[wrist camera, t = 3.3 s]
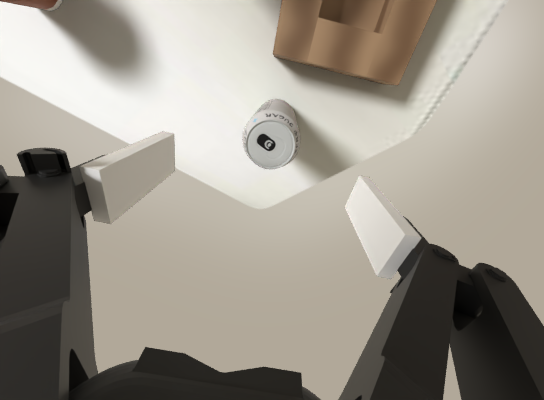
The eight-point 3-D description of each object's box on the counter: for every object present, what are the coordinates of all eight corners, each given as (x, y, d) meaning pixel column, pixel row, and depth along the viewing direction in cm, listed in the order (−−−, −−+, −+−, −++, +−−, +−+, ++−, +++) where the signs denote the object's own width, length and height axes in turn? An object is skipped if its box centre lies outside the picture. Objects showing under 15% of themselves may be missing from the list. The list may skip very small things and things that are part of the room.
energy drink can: (279, 145, 35) (276, 185, 22) (249, 123, 34) (227, 151, 21) (303, 115, 33) (314, 139, 20) (271, 89, 31) (262, 97, 18)
